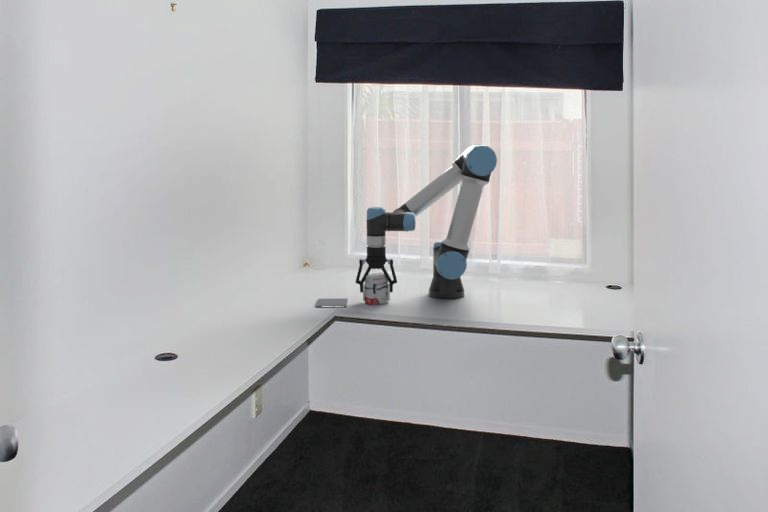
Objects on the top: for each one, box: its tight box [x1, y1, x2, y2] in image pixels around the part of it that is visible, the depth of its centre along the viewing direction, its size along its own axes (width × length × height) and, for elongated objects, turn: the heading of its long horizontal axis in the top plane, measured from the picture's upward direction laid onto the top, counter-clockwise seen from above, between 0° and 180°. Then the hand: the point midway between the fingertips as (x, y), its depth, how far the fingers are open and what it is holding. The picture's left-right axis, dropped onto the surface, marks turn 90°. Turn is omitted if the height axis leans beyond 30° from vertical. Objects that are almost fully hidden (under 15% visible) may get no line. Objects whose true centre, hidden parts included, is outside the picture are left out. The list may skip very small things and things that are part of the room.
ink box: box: [364, 272, 389, 306], centre depth 249 cm, size 8×5×12 cm, turn 123°
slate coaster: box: [315, 298, 349, 308], centre depth 249 cm, size 12×12×1 cm
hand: (376, 300), depth 250 cm, fingers closed on ink box, 9 cm apart
